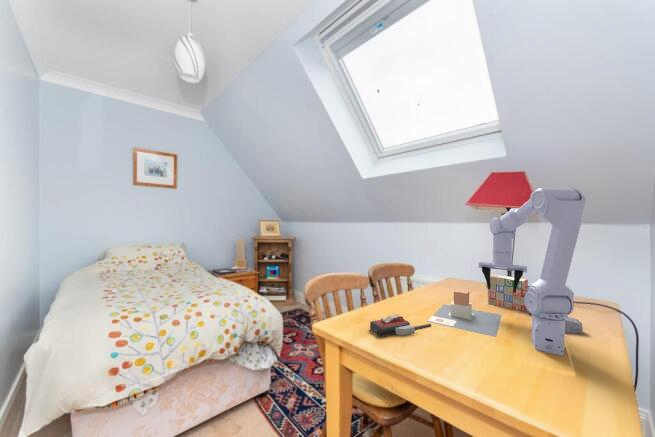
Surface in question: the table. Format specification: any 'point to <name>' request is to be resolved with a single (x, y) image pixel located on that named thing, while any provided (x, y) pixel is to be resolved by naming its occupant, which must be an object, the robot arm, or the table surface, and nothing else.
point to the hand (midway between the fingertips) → (501, 290)
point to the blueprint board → (468, 321)
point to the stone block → (573, 325)
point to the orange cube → (461, 297)
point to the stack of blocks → (507, 292)
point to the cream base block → (461, 310)
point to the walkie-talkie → (393, 326)
